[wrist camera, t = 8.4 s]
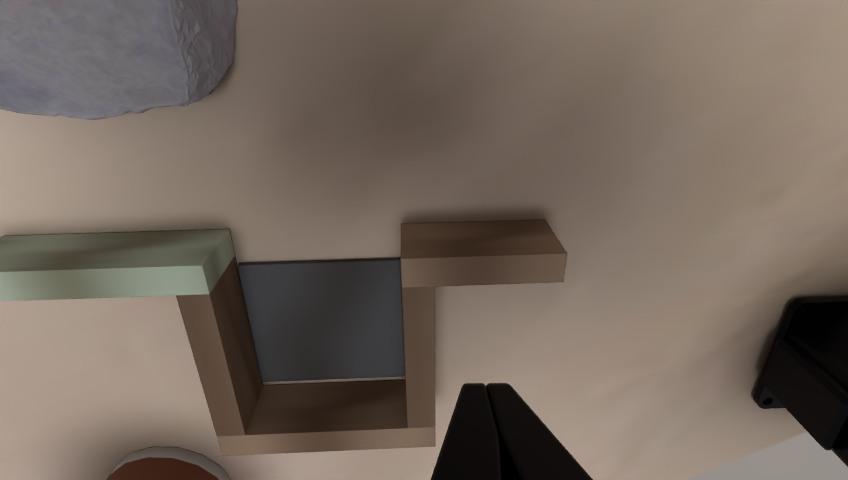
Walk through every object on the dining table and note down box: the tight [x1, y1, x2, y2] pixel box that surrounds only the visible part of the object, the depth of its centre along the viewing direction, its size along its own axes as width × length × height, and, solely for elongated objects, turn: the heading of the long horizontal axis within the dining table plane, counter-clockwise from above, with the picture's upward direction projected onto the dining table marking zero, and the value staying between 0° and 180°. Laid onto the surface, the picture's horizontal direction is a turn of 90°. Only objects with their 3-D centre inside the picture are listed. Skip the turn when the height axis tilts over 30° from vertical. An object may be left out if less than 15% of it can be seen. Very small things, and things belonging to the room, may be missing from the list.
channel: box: [0, 220, 567, 456], centre depth 17 cm, size 22×26×3 cm
